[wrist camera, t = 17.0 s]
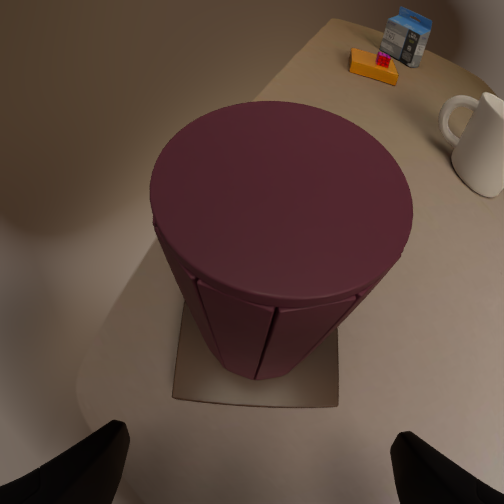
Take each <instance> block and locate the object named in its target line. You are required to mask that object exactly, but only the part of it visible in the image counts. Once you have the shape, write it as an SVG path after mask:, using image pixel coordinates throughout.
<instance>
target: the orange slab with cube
mask: <svg viewBox="0 0 504 504" xmlns="http://www.w3.org/2000/svg"><path fill="white" fill-rule="evenodd" d="M349 71H350V72H351V73H355V74H359V75H362V76H366V77H369V78H372V79H376V80H379V81H382V82H385V83H388V84H391V85H394V86H395V85H396V82H397V79H398V76H399V75H398V72H397V69H396V67H395V64H394V62H393V60H391V58H390V55H388V54H385V53H382V52H378V55H376V54H373V53H369V52H366V51H362V50H359V49H355V48H351V51H350V56H349Z"/></svg>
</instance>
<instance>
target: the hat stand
mask: <svg viewBox="0 0 504 504" xmlns="http://www.w3.org/2000/svg"><path fill="white" fill-rule="evenodd" d="M172 398H175V399H180V400H187V401H195V402H204V403H213V404H223V405H235V406H250V407H274V408H321V407H337V406H338V399H339V369H338V329H337V328H336V329H335V330H334V331H333V332H332V333H331V334H330V335H329V336H328V337H327V338H326V339H325V340H324V341H323V342H322V343H321V344H320V345H319V346H318V347H317V348H316V349H315V350H313V351H312V352H311V353H310V354H309V355H308V356H307V357H306V358H305V359H304V360H303V361H301V362H300V363H299V364H298V365H297V366H296V367H294V368H293V369H292V370H291V371H290V372H288V373H287V374H286V375H285V374H284V375H283V376H280V377H274V378H268V379H262V380H255V377H254V380H251V379H248V378H246V377H243V376H240V375H238V374H235V373H233V372H230V371H227V369H226V368H224V367H223V366H222V365H221V363H220V362H219V361H218V360H217V358H216V357H215V356H214V355H213V353H212V352H211V351H210V349H209V348H208V346H207V344H206V342H205V340H204V338H203V336H202V334H201V332H200V330H199V328H198V326H197V324H196V322H195V320H194V318H193V316H192V314H191V312H190V310H189V307H188V305H187V303H186V301H185V302H184V308H183V315H182V322H181V329H180V336H179V343H178V351H177V358H176V366H175V375H174V383H173V392H172Z"/></svg>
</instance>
